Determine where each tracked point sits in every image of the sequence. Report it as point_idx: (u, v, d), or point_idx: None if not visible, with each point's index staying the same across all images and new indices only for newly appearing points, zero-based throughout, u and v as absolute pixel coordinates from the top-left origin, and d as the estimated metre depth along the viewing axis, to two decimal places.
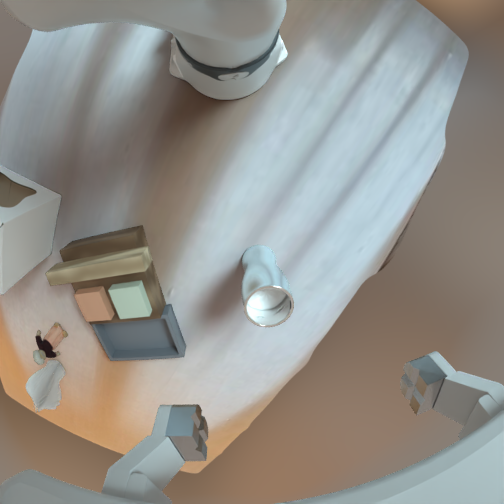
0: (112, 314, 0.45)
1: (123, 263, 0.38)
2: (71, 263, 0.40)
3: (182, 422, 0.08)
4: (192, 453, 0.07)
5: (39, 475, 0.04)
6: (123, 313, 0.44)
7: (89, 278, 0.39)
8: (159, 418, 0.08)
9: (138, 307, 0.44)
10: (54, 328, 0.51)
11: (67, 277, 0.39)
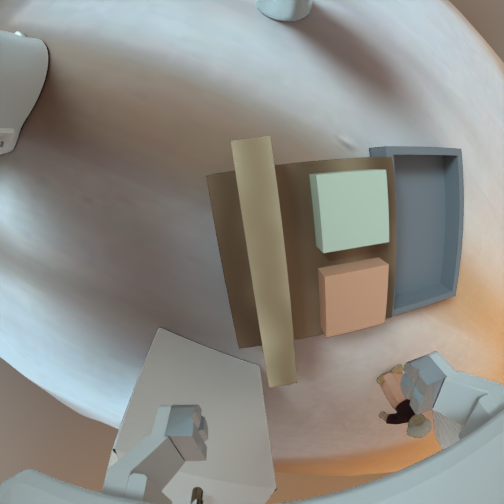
0: (378, 260, 0.23)
1: (249, 188, 0.17)
2: None
3: (182, 422, 0.08)
4: (192, 453, 0.07)
5: (39, 475, 0.04)
6: (377, 230, 0.21)
7: (285, 288, 0.20)
8: (159, 418, 0.08)
9: (366, 190, 0.20)
10: (384, 385, 0.33)
11: (280, 342, 0.21)
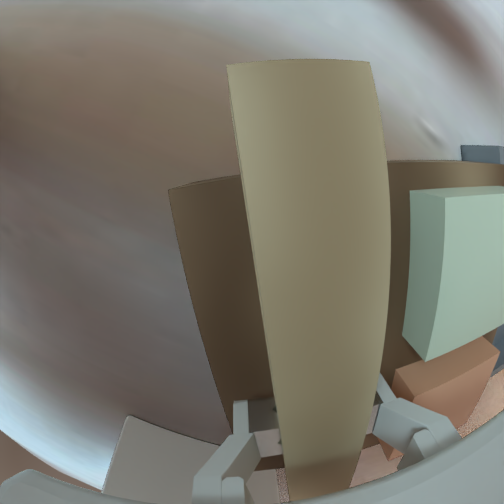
0: (483, 343, 0.10)
1: (297, 250, 0.05)
2: None
3: (265, 416, 0.08)
4: (272, 447, 0.08)
5: (39, 475, 0.04)
6: None
7: (353, 454, 0.07)
8: (237, 414, 0.08)
9: None
10: None
11: None
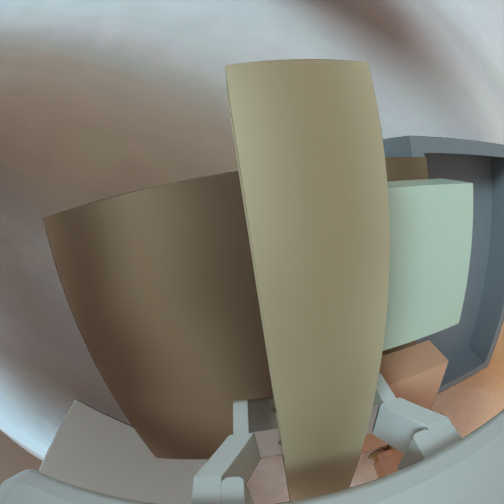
0: (431, 350, 0.11)
1: (296, 250, 0.05)
2: None
3: (265, 416, 0.08)
4: (272, 447, 0.08)
5: (39, 475, 0.04)
6: (446, 306, 0.09)
7: (353, 454, 0.07)
8: (237, 414, 0.08)
9: (439, 228, 0.08)
10: (378, 464, 0.21)
11: None
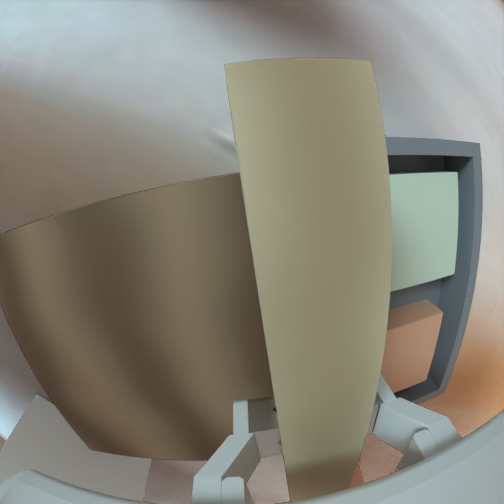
0: None
1: (297, 253, 0.05)
2: None
3: (265, 416, 0.08)
4: (272, 447, 0.08)
5: (39, 475, 0.04)
6: None
7: (353, 455, 0.07)
8: (237, 414, 0.08)
9: None
10: None
11: None
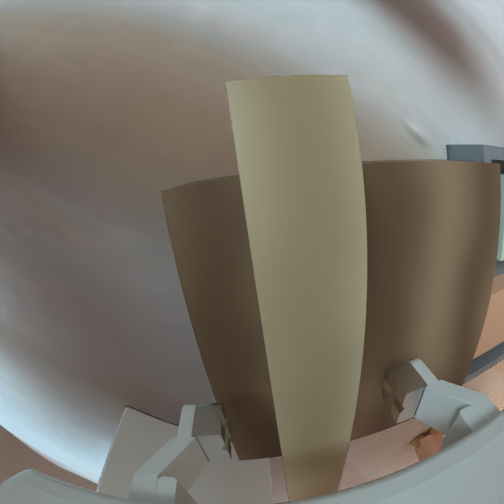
0: None
1: (285, 235, 0.06)
2: (281, 452, 0.11)
3: (209, 421, 0.08)
4: (218, 452, 0.07)
5: (39, 475, 0.04)
6: None
7: (344, 433, 0.08)
8: (184, 418, 0.08)
9: None
10: (420, 449, 0.21)
11: (318, 485, 0.09)
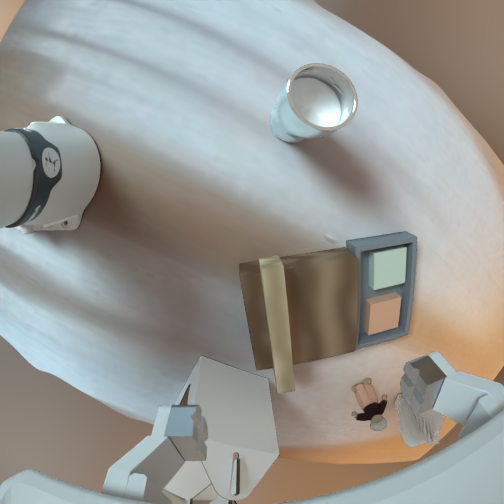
0: (370, 301, 0.41)
1: (271, 294, 0.32)
2: None
3: (182, 422, 0.08)
4: (192, 453, 0.07)
5: (39, 475, 0.04)
6: None
7: (288, 341, 0.34)
8: (159, 418, 0.08)
9: None
10: (357, 392, 0.48)
11: (285, 368, 0.36)
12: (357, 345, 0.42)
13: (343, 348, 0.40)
